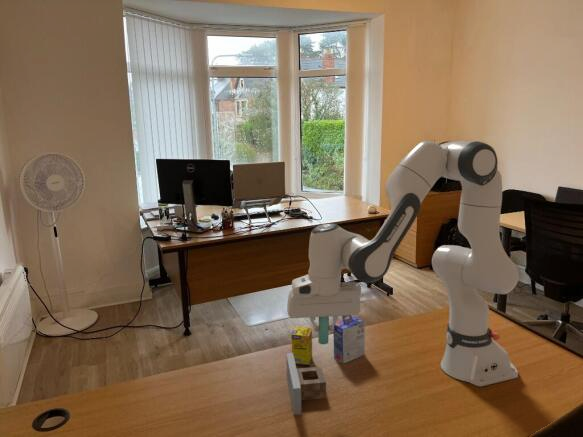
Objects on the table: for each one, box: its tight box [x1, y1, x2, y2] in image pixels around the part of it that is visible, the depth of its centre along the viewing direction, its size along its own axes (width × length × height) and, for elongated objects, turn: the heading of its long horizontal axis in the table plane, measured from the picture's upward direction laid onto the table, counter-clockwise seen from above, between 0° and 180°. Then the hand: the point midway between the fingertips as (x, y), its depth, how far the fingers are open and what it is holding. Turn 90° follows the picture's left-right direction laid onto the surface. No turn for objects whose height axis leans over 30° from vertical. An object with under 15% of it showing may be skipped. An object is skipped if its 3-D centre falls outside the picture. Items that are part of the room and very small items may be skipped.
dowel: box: [317, 316, 330, 345], centre depth 121 cm, size 3×3×9 cm
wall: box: [285, 352, 302, 416], centre depth 125 cm, size 2×18×8 cm, turn 7°
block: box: [296, 366, 327, 401], centre depth 127 cm, size 8×8×5 cm
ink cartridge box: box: [332, 315, 366, 364], centre depth 144 cm, size 10×6×14 cm, turn 124°
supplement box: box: [290, 326, 313, 368], centre depth 141 cm, size 6×6×11 cm
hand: (323, 329), depth 121 cm, fingers closed on dowel, 3 cm apart
